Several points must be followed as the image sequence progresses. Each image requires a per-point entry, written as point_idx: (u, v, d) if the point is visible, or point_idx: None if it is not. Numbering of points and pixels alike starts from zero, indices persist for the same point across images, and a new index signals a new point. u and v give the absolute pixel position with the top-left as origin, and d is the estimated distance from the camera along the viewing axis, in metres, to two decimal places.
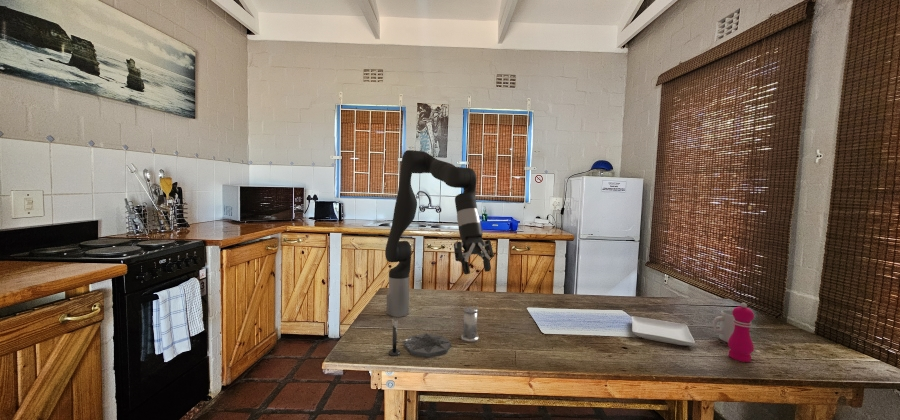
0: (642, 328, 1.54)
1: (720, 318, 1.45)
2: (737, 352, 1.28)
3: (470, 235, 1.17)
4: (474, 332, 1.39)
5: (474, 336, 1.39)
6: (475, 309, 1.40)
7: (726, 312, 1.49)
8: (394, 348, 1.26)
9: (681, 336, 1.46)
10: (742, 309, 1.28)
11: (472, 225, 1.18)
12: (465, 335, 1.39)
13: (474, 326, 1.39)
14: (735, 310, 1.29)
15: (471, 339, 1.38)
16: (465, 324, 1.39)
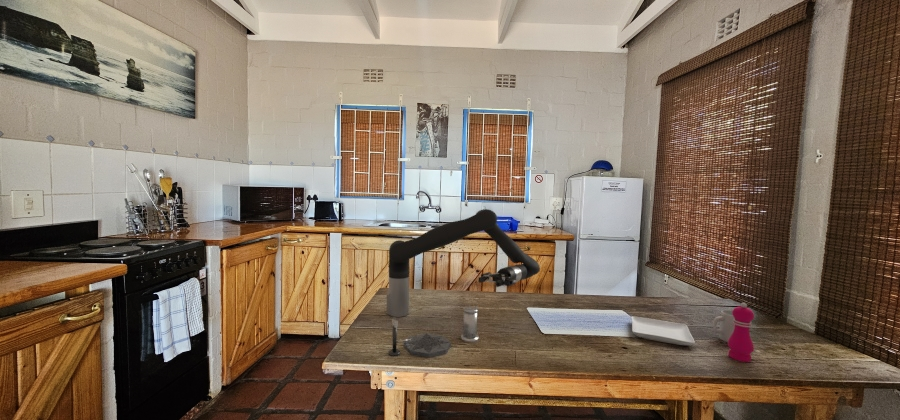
0: (642, 328, 1.54)
1: (720, 318, 1.45)
2: (737, 352, 1.28)
3: None
4: (474, 332, 1.39)
5: (474, 336, 1.39)
6: (475, 309, 1.40)
7: (726, 312, 1.49)
8: (394, 348, 1.26)
9: (681, 336, 1.46)
10: (742, 309, 1.28)
11: None
12: (465, 335, 1.39)
13: (474, 326, 1.39)
14: (735, 310, 1.29)
15: (471, 339, 1.38)
16: (465, 324, 1.39)
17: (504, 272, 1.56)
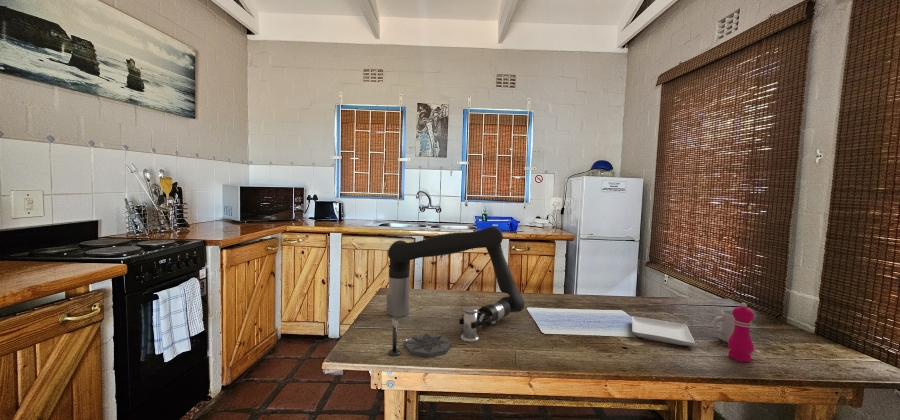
0: (642, 328, 1.54)
1: (720, 318, 1.45)
2: (737, 352, 1.28)
3: None
4: (474, 332, 1.39)
5: (474, 336, 1.39)
6: (475, 309, 1.40)
7: (726, 312, 1.49)
8: (394, 348, 1.26)
9: (681, 336, 1.46)
10: (742, 309, 1.28)
11: None
12: (465, 335, 1.39)
13: None
14: (735, 310, 1.29)
15: (471, 339, 1.38)
16: (465, 324, 1.39)
17: (485, 311, 1.47)
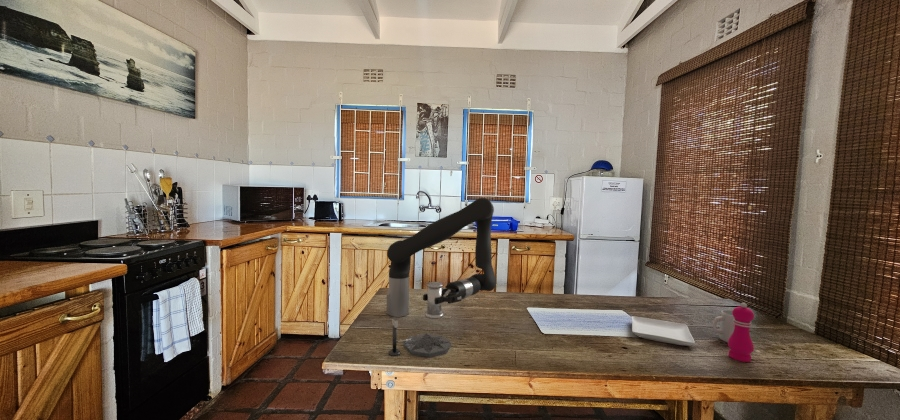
0: (642, 328, 1.54)
1: (720, 318, 1.45)
2: (737, 352, 1.28)
3: None
4: (438, 308, 1.31)
5: (438, 312, 1.32)
6: (439, 284, 1.32)
7: (726, 312, 1.49)
8: (394, 348, 1.26)
9: (681, 336, 1.46)
10: (742, 309, 1.28)
11: None
12: (429, 311, 1.32)
13: None
14: (735, 310, 1.29)
15: (435, 315, 1.31)
16: (429, 300, 1.31)
17: (452, 287, 1.40)
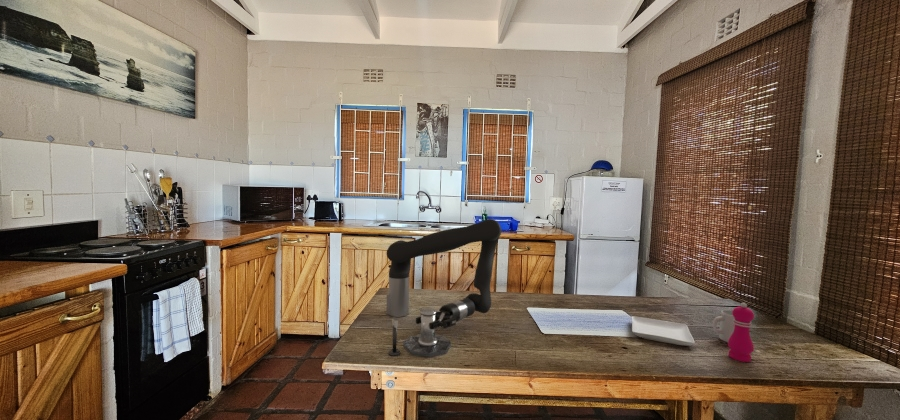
0: (642, 328, 1.54)
1: (720, 318, 1.45)
2: (737, 352, 1.28)
3: None
4: (432, 335, 1.31)
5: (432, 340, 1.31)
6: (433, 311, 1.32)
7: (726, 312, 1.49)
8: (394, 348, 1.26)
9: (681, 336, 1.46)
10: (742, 309, 1.28)
11: None
12: (422, 339, 1.31)
13: (431, 329, 1.31)
14: (735, 310, 1.29)
15: (428, 343, 1.30)
16: (422, 327, 1.31)
17: (446, 310, 1.39)
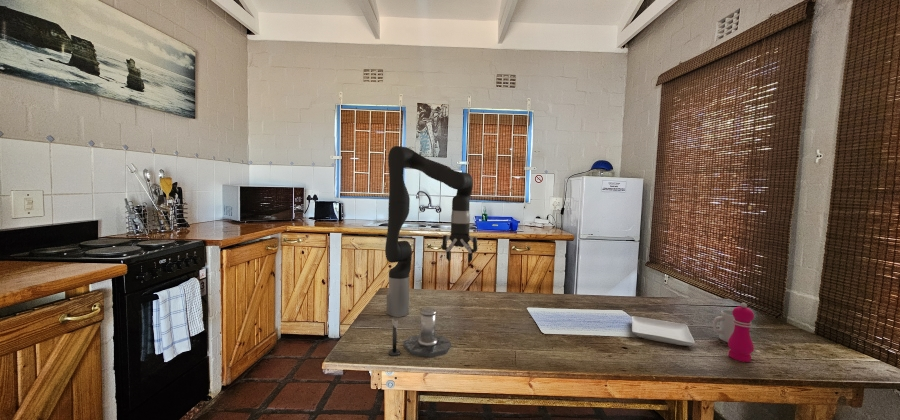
0: (642, 328, 1.54)
1: (720, 318, 1.45)
2: (737, 352, 1.28)
3: None
4: (432, 336, 1.31)
5: (432, 340, 1.31)
6: (433, 311, 1.32)
7: (726, 312, 1.49)
8: (394, 348, 1.26)
9: (681, 336, 1.46)
10: (742, 309, 1.28)
11: None
12: (422, 339, 1.31)
13: (432, 329, 1.31)
14: (735, 310, 1.29)
15: (428, 343, 1.30)
16: (422, 327, 1.31)
17: (459, 234, 1.46)
